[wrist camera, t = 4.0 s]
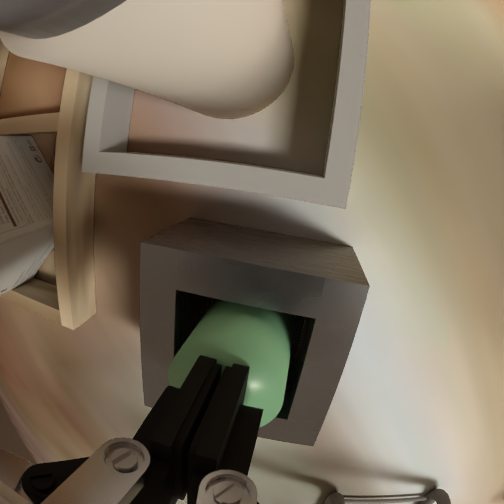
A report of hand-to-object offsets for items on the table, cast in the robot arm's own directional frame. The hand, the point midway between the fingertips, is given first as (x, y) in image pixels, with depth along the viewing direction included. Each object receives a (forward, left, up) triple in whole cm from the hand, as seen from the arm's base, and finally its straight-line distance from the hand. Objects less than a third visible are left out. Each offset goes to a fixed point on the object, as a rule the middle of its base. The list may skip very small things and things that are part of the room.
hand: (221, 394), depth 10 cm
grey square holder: (0, 0, -7) cm, 7 cm away
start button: (0, 0, -6) cm, 6 cm away
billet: (-12, -3, -7) cm, 14 cm away
